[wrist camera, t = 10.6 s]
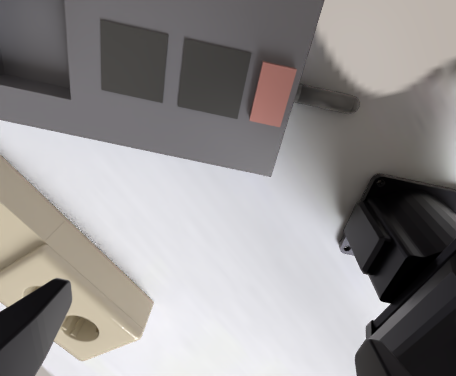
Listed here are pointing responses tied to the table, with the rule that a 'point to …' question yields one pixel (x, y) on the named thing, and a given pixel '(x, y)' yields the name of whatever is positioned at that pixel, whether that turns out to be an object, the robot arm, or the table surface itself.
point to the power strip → (163, 74)
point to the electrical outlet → (65, 271)
